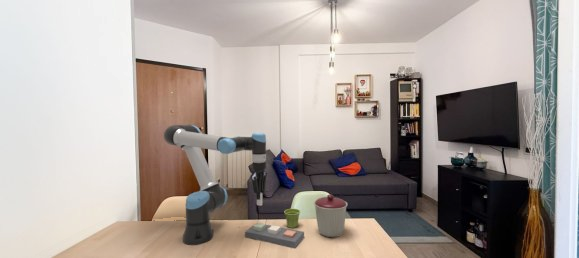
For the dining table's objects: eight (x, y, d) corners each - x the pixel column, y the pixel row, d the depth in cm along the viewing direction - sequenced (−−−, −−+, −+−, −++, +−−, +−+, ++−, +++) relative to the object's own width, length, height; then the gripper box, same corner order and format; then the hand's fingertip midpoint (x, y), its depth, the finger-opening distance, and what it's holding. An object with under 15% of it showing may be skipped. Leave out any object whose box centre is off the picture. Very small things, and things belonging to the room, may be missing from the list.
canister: (343, 225, 138) (342, 189, 138) (352, 240, 120) (351, 199, 120) (312, 226, 138) (311, 190, 138) (316, 241, 120) (316, 200, 120)
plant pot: (299, 230, 133) (298, 214, 133) (282, 228, 135) (282, 213, 135) (301, 223, 142) (301, 209, 142) (286, 222, 144) (286, 208, 144)
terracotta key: (283, 239, 120) (283, 233, 120) (287, 235, 125) (287, 229, 125) (292, 241, 118) (292, 235, 118) (296, 236, 123) (296, 231, 123)
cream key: (267, 234, 124) (267, 228, 124) (272, 230, 128) (272, 225, 128) (276, 236, 122) (276, 230, 122) (280, 232, 126) (280, 226, 126)
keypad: (245, 237, 126) (245, 231, 126) (257, 228, 137) (257, 222, 137) (295, 248, 114) (294, 242, 114) (304, 237, 124) (304, 231, 124)
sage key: (253, 231, 128) (253, 226, 128) (258, 227, 132) (258, 222, 132) (261, 232, 126) (261, 227, 126) (266, 229, 130) (266, 224, 130)
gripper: (258, 163, 121) (259, 209, 121) (271, 160, 133) (271, 202, 133) (246, 163, 124) (246, 207, 124) (259, 159, 136) (260, 200, 136)
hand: (259, 204), depth 129 cm, fingers closed
